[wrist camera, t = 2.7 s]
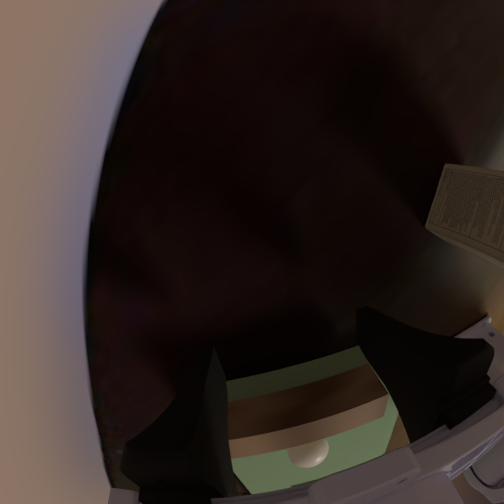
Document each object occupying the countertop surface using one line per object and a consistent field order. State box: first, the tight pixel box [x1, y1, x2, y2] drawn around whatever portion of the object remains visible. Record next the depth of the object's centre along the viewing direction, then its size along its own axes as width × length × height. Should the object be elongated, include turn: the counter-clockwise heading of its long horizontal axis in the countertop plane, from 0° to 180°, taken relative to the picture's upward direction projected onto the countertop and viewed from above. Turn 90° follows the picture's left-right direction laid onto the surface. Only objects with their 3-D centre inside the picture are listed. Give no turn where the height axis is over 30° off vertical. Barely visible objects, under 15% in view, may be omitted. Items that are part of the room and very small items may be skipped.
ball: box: [287, 438, 329, 468], centre depth 17 cm, size 3×3×3 cm
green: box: [226, 345, 398, 494], centre depth 19 cm, size 16×28×9 cm, turn 12°
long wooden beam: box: [228, 363, 389, 459], centre depth 15 cm, size 10×3×3 cm, turn 102°
